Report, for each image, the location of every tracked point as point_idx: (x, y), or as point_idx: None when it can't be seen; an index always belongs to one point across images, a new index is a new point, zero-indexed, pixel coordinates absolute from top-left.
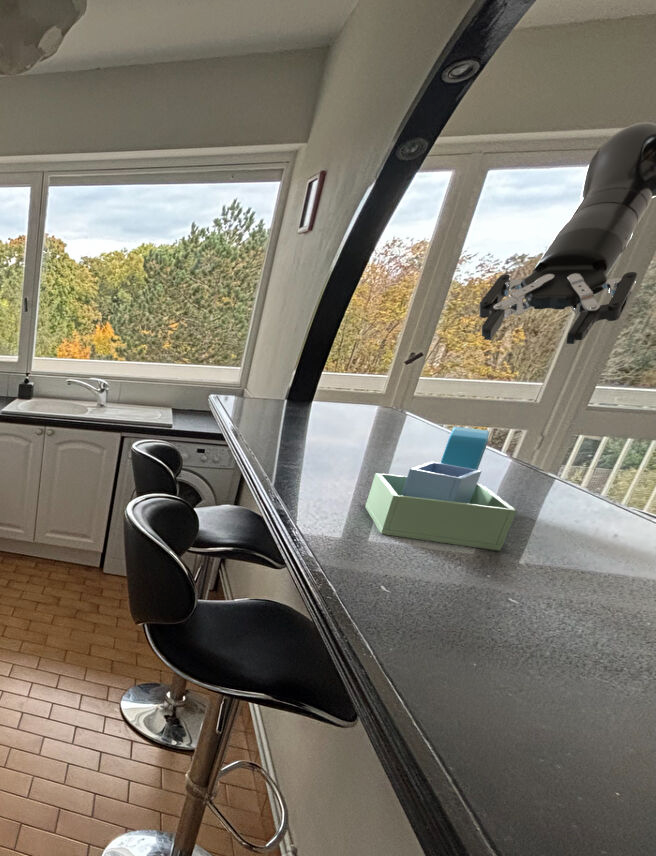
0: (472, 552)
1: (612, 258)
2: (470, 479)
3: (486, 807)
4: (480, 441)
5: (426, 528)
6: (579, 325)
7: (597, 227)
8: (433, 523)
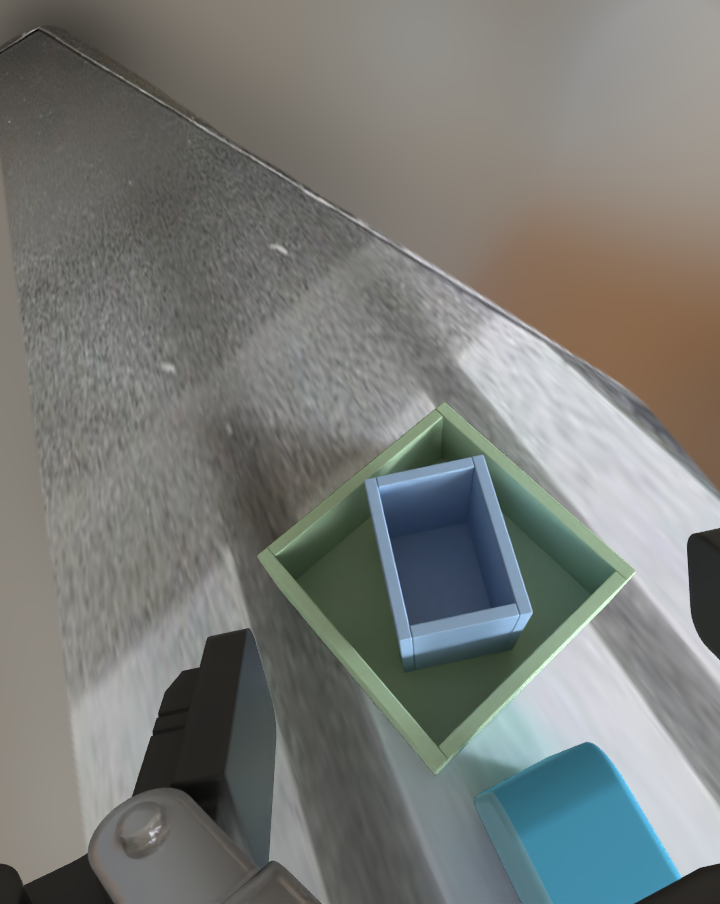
0: None
1: None
2: (381, 562)
3: (59, 52)
4: (518, 803)
5: None
6: (203, 672)
7: None
8: None
